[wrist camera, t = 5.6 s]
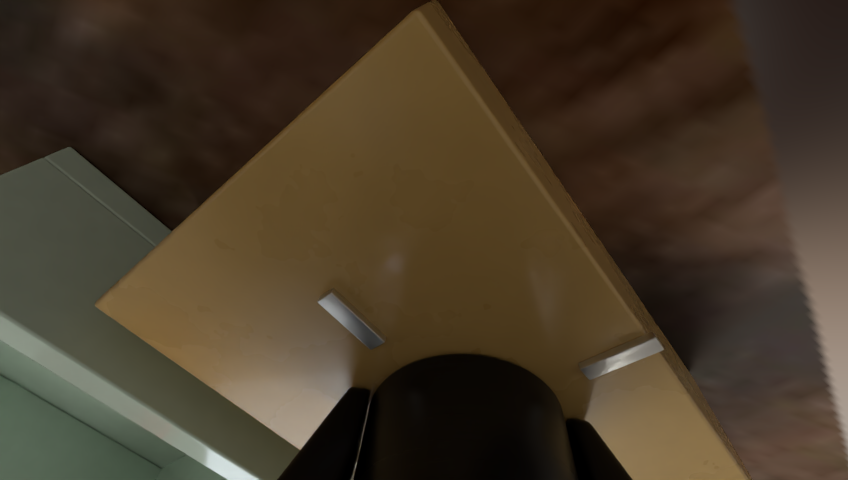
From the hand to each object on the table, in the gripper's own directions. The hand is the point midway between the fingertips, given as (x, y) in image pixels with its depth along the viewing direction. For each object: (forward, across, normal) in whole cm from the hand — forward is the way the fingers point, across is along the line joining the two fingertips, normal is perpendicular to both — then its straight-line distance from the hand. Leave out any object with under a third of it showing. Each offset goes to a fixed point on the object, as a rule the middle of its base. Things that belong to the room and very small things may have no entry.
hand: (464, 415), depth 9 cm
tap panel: (+4, 0, 0) cm, 4 cm away
